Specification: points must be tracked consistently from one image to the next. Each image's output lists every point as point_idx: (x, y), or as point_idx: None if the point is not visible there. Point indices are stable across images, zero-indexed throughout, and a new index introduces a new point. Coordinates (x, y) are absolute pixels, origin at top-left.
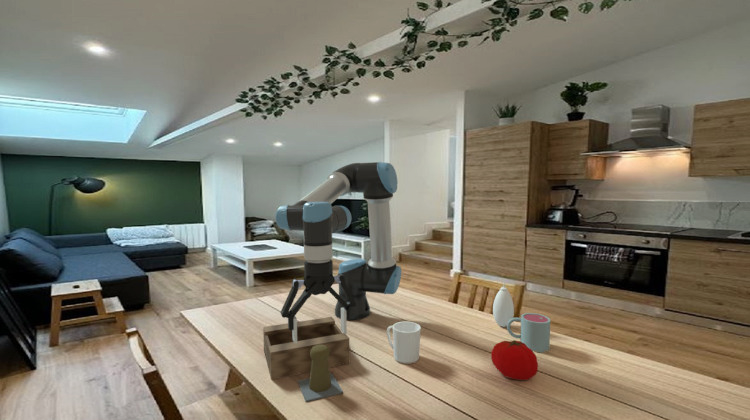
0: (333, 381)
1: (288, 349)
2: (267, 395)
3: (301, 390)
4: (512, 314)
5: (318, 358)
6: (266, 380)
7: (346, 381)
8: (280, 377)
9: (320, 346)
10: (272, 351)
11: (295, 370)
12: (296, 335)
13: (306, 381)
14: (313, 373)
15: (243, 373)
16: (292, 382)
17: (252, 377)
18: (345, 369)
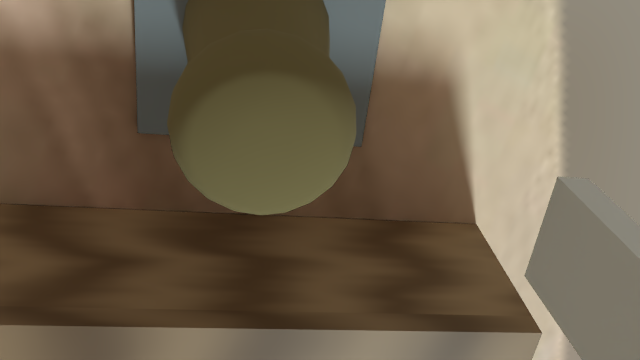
0: (158, 36)
1: (422, 330)
2: (551, 92)
3: (377, 42)
4: None
5: (305, 40)
6: (498, 228)
7: (66, 8)
8: (429, 222)
9: (255, 154)
10: (525, 341)
11: (348, 233)
12: (613, 224)
13: None
14: (322, 40)
15: None
16: (388, 153)
17: None
18: (34, 148)
